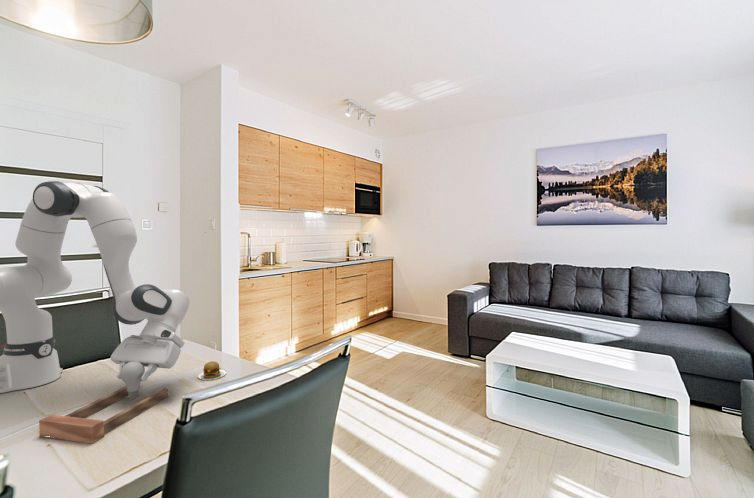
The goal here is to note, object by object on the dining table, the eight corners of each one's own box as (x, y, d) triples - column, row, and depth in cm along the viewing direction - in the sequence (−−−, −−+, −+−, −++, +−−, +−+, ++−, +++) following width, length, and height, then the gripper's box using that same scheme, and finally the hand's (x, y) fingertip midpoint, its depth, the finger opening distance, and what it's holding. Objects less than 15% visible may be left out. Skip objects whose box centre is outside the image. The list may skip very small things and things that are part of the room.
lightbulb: (144, 392, 112) (142, 356, 111) (147, 399, 107) (145, 362, 106) (120, 398, 108) (118, 361, 107) (122, 405, 103) (120, 367, 103)
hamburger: (236, 371, 133) (236, 356, 133) (219, 385, 121) (219, 369, 121) (205, 370, 134) (205, 355, 134) (185, 383, 123) (185, 367, 122)
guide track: (127, 392, 114) (126, 379, 114) (170, 396, 111) (170, 383, 111) (39, 436, 90) (39, 420, 90) (92, 443, 87) (91, 427, 87)
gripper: (121, 329, 115) (93, 372, 106) (178, 333, 111) (154, 377, 102) (134, 339, 120) (107, 381, 111) (189, 343, 116) (166, 386, 107)
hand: (130, 379), depth 106 cm, fingers closed on lightbulb, 6 cm apart
